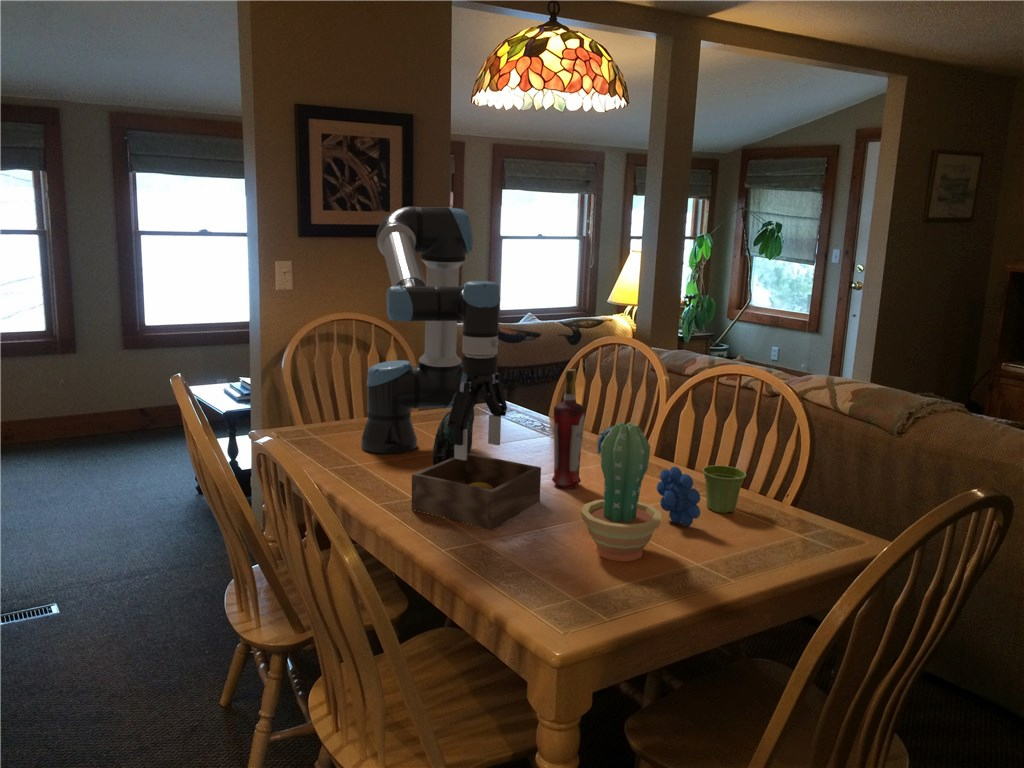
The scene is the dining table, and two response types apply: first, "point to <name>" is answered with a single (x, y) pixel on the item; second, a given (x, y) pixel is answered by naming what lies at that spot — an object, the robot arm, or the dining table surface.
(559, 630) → the dining table surface
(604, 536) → the potted cactus
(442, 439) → the dark green bag
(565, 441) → the liquor
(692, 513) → the grapes
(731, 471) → the plant pot
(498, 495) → the box
